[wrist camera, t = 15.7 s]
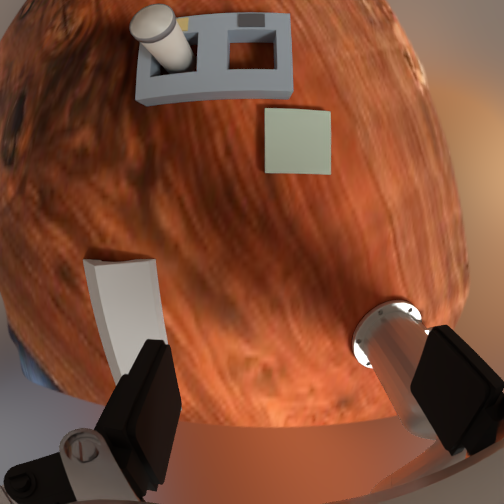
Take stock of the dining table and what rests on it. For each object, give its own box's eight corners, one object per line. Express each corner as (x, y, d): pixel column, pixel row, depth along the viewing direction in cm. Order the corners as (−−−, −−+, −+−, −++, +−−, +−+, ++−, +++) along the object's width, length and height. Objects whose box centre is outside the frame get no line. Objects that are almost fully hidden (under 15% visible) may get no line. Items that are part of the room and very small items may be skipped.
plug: (198, 49, 30) (175, 0, 17) (197, 76, 31) (171, 35, 18) (167, 52, 30) (132, 8, 17) (165, 80, 31) (126, 43, 18)
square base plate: (327, 113, 32) (330, 111, 31) (328, 174, 35) (330, 174, 33) (264, 109, 32) (264, 107, 31) (264, 172, 34) (265, 173, 33)
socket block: (285, 27, 29) (290, 12, 25) (288, 99, 32) (293, 90, 28) (151, 35, 29) (141, 23, 24) (146, 106, 32) (134, 99, 28)
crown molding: (182, 407, 46) (179, 421, 43) (123, 400, 46) (117, 412, 43) (155, 256, 38) (147, 265, 35) (83, 257, 38) (71, 265, 35)
